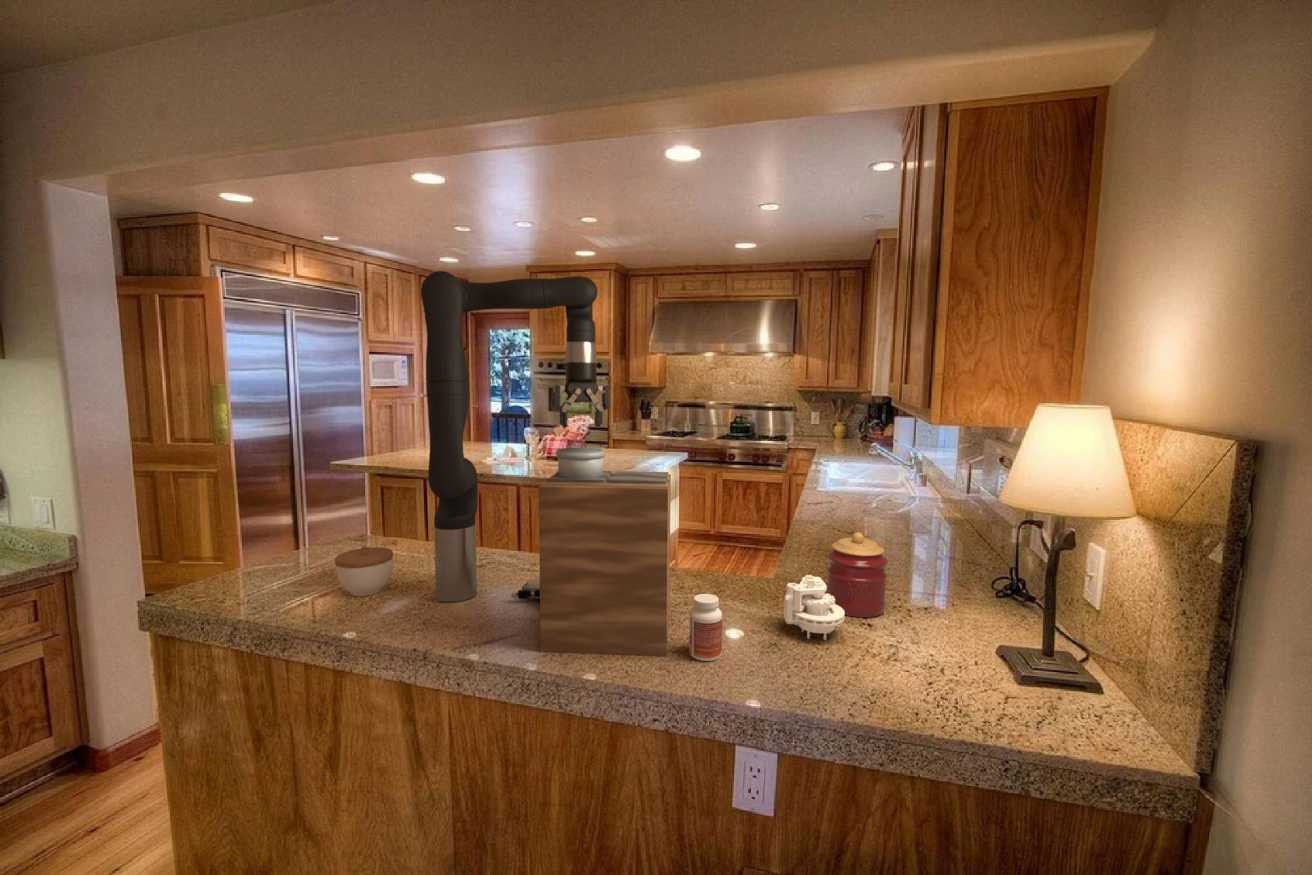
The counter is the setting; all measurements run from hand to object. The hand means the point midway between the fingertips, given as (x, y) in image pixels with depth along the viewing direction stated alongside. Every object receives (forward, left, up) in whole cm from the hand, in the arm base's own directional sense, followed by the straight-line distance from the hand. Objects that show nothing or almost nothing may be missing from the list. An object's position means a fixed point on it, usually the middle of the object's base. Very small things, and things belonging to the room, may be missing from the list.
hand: (581, 427), depth 142 cm
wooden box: (-4, -31, -40) cm, 51 cm away
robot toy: (-10, -7, -40) cm, 42 cm away
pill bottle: (+10, -46, -40) cm, 62 cm away
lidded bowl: (-50, +16, -40) cm, 66 cm away
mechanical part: (+35, -47, -40) cm, 71 cm away
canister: (+53, -40, -40) cm, 78 cm away
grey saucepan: (-5, -21, -7) cm, 23 cm away
